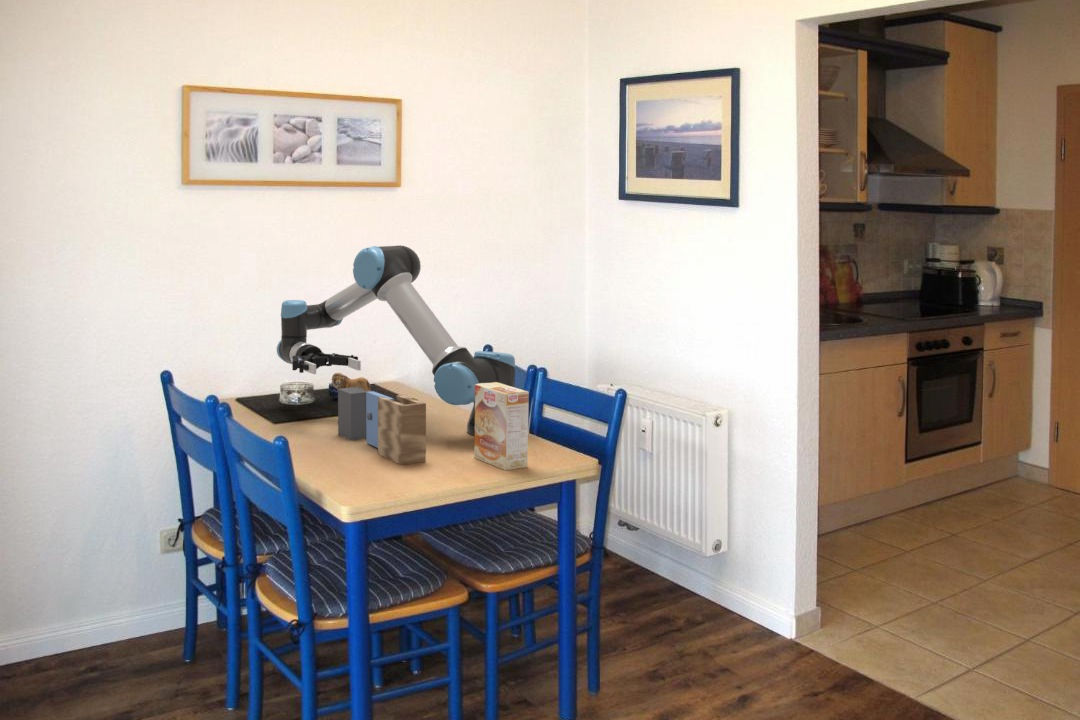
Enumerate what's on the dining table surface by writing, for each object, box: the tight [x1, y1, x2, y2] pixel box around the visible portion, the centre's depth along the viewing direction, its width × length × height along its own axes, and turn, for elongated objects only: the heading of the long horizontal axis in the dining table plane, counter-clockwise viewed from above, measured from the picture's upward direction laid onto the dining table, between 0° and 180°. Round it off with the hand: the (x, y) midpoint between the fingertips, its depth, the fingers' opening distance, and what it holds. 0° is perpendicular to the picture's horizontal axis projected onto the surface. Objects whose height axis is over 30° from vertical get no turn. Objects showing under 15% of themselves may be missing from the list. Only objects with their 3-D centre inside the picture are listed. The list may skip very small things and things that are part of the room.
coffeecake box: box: [473, 382, 530, 471], centre depth 274 cm, size 15×7×20 cm, turn 35°
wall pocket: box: [377, 394, 427, 466], centre depth 277 cm, size 13×7×15 cm, turn 36°
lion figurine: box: [331, 372, 372, 392], centre depth 353 cm, size 15×5×9 cm, turn 126°
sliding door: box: [365, 390, 395, 449], centre depth 287 cm, size 12×3×14 cm, turn 36°
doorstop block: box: [337, 387, 368, 441], centre depth 300 cm, size 8×6×13 cm
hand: (337, 367), depth 306 cm, fingers open, 13 cm apart
